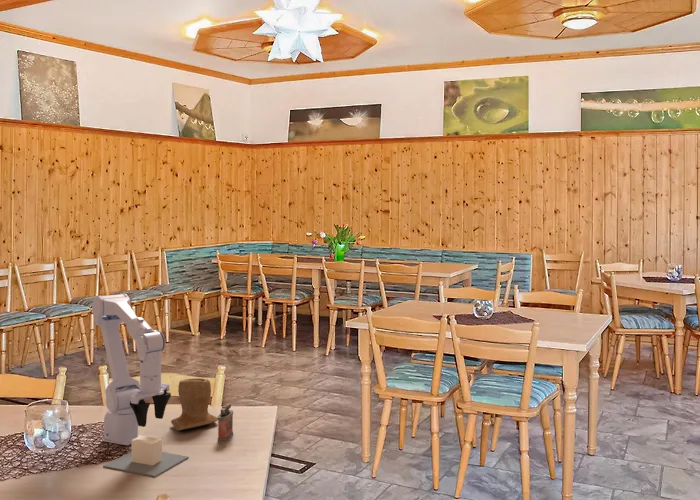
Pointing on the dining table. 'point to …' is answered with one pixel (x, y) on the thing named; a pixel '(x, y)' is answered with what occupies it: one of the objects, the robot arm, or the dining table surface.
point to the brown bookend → (194, 404)
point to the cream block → (146, 450)
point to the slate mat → (144, 469)
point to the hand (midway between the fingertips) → (150, 422)
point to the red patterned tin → (225, 424)
